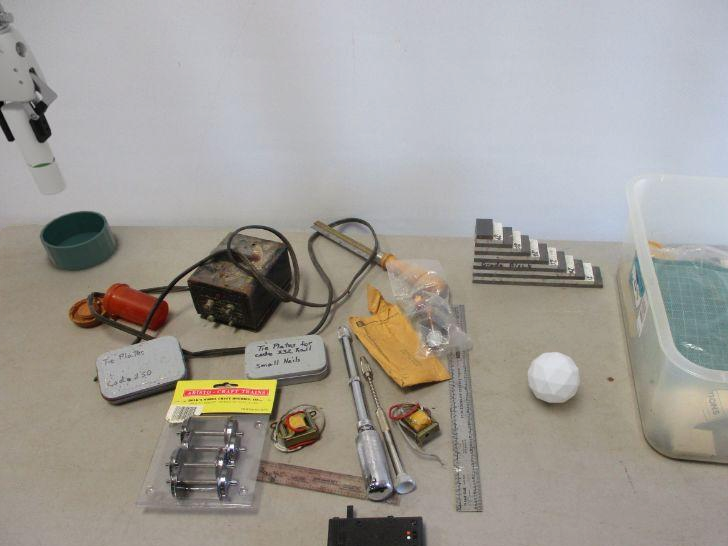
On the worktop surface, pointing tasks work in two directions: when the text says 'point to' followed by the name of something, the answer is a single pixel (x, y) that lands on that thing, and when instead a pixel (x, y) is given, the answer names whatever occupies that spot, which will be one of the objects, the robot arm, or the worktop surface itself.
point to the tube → (34, 150)
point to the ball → (553, 377)
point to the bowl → (78, 240)
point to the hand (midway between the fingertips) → (30, 137)
